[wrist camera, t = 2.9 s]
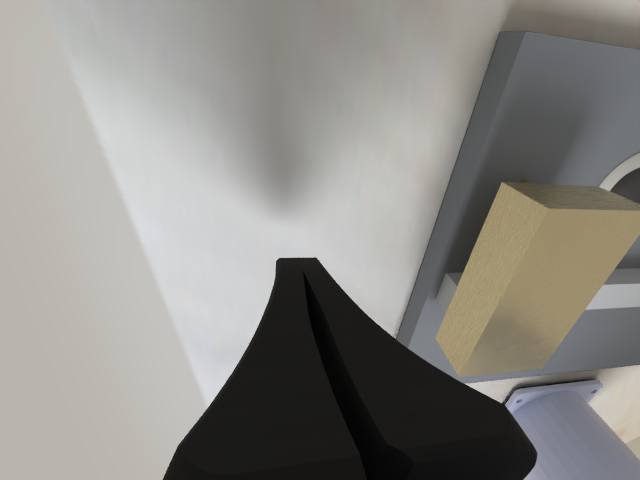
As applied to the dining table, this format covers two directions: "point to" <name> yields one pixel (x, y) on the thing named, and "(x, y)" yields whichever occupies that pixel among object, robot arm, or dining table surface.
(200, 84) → the dining table surface
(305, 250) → the dining table surface
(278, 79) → the dining table surface
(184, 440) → the robot arm
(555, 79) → the bolt plate
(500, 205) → the block
